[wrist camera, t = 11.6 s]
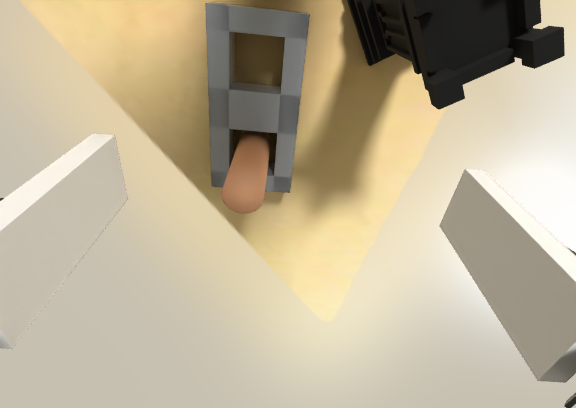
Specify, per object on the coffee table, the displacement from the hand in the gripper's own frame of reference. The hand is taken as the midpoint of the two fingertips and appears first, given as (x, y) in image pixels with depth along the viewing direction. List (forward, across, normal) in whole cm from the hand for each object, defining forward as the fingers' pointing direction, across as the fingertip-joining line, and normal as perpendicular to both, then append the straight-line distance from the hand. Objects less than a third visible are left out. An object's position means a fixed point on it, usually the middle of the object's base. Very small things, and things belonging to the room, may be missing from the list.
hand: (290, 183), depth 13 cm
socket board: (+29, -4, -6) cm, 30 cm away
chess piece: (+30, +10, +5) cm, 32 cm away
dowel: (+29, -3, -11) cm, 31 cm away
